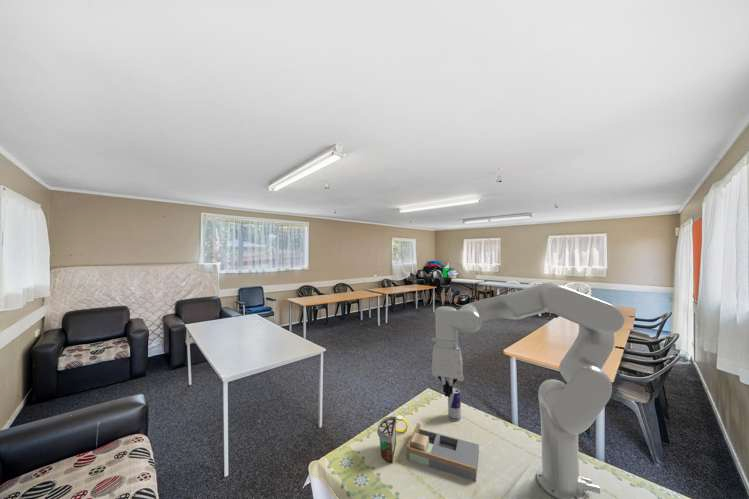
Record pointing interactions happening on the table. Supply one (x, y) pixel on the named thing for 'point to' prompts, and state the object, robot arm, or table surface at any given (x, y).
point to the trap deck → (446, 454)
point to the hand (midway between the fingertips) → (448, 394)
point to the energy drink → (454, 405)
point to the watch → (401, 420)
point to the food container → (387, 438)
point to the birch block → (420, 442)
